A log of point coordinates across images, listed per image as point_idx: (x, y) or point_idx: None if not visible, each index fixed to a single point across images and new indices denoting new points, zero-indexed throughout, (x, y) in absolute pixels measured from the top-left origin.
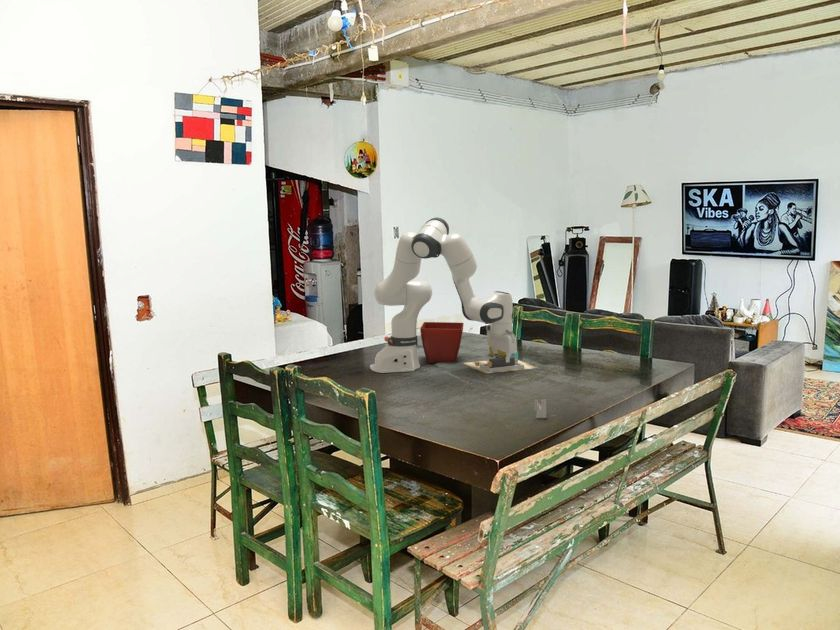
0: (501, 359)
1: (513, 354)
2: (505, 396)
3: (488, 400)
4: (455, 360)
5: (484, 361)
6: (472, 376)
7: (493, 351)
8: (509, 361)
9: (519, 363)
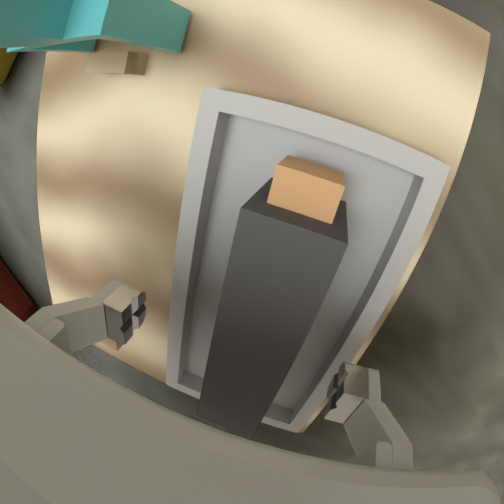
0: (278, 389)
1: (114, 39)
2: (492, 476)
3: None
4: (29, 314)
5: (49, 216)
6: (263, 438)
7: (84, 347)
8: (379, 374)
9: (357, 134)
